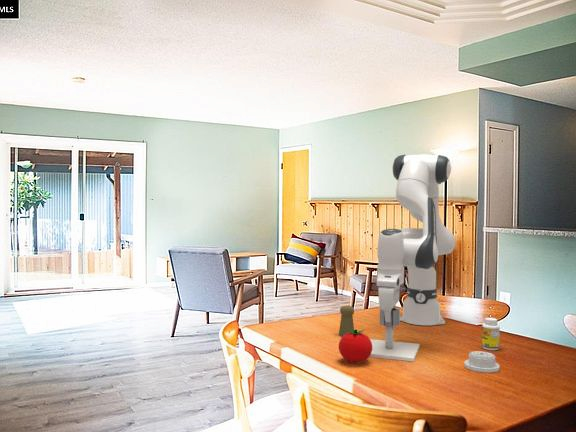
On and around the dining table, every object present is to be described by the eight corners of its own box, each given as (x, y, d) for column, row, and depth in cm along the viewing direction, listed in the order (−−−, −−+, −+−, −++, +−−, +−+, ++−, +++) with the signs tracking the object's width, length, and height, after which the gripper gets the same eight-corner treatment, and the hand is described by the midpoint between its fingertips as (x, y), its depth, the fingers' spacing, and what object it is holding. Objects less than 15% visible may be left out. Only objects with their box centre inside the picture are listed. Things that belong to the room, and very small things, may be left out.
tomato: (331, 359, 166) (332, 328, 165) (358, 355, 171) (358, 324, 171) (352, 369, 157) (352, 335, 156) (379, 363, 162) (379, 331, 162)
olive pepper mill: (354, 337, 193) (354, 307, 193) (337, 336, 194) (338, 307, 194) (355, 333, 199) (355, 304, 199) (339, 332, 200) (339, 304, 200)
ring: (381, 321, 180) (382, 306, 180) (400, 323, 178) (400, 308, 178) (378, 325, 174) (379, 310, 174) (397, 327, 172) (398, 311, 172)
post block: (367, 341, 188) (368, 313, 188) (419, 346, 182) (419, 317, 181) (356, 355, 171) (357, 324, 171) (413, 361, 165) (414, 329, 165)
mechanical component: (482, 361, 166) (457, 365, 162) (482, 348, 166) (457, 351, 162) (506, 371, 157) (481, 375, 153) (507, 356, 157) (481, 360, 153)
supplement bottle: (479, 346, 183) (479, 317, 183) (494, 346, 184) (495, 317, 183) (485, 350, 178) (486, 320, 177) (502, 350, 178) (502, 320, 178)
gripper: (385, 273, 186) (385, 312, 187) (375, 281, 167) (374, 324, 167) (404, 274, 184) (403, 314, 185) (395, 282, 165) (395, 326, 165)
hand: (389, 319), depth 176 cm, fingers closed on ring, 6 cm apart
